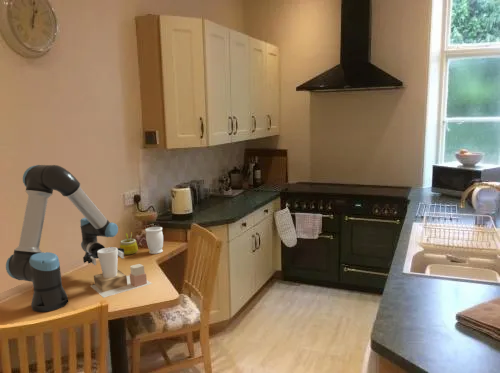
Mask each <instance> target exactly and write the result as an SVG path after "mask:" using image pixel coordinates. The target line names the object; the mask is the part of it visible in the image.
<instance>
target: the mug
mask: <svg viewBox="0 0 500 373" xmlns="http://www.w3.org/2000/svg"><path fill="white" fill-rule="evenodd" d="M130 236H133V232H132V231H131V232H130ZM119 248H123V249H124V256H126V255H127V256H129V255H133V254H135V253H137V252H138V250H139V248H138V243H137V240H136V239H135V238H129V236H128V233H127V232H126V233H125V239H122V240H120V241H119Z"/></svg>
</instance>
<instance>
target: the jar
mask: <svg viewBox="0 0 500 373" xmlns="http://www.w3.org/2000/svg"><path fill="white" fill-rule="evenodd" d="M144 232H146V233H145V240H146V244H147V247H148V250H149V251H148V253H149V254H150V255H152V254H153V255H158V254H160V253H162V252H164V250H163V247H164V234H163V233H164V232H163V226H151V227H147V228H145V231H144Z"/></svg>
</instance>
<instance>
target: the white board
mask: <svg viewBox="0 0 500 373" xmlns="http://www.w3.org/2000/svg"><path fill="white" fill-rule="evenodd" d="M126 277H127V285H126V286H123V287H119V288H116V289H112V290H109V291H105V292H102V291H101V290H100V289H99V288H97V287H96V286H95V284H92V285H90V287H91V288H92V289H93V290H94V291H95V292H96V293H98V294H99V295H100V296H101V297H102V298H103V299H104V298H108V297H111V296H114V295H115V296H116V295H118V294H121V293H124V292H128V291H132V290H135V289H139V288H143V287H146V286H149V285H153V282H151V281H149V280H148V279H147V284H144V285H140V286H137V287H135V286H133V285H132V284H131V283H130V274H129V275H126Z"/></svg>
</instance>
